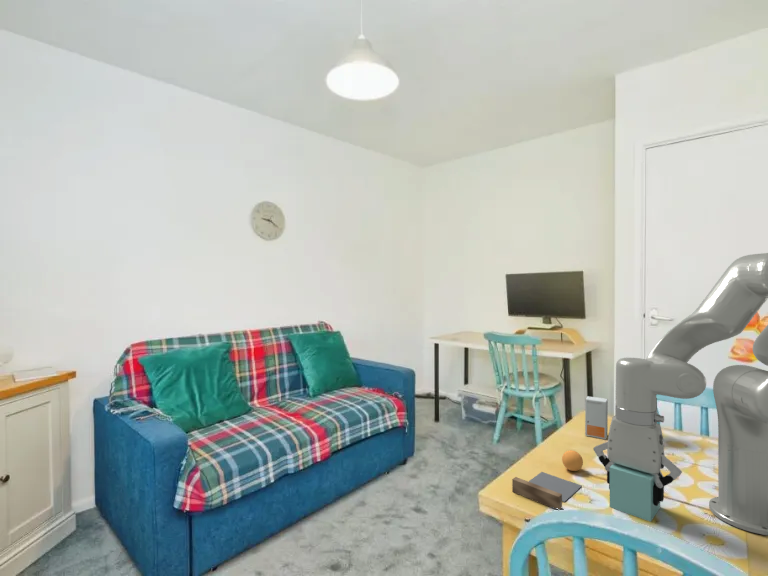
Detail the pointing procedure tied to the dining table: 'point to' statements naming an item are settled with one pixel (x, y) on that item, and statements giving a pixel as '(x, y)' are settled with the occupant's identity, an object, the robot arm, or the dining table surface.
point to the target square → (556, 484)
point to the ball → (572, 460)
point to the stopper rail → (537, 493)
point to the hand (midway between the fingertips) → (634, 494)
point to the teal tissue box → (632, 492)
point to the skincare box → (596, 417)
